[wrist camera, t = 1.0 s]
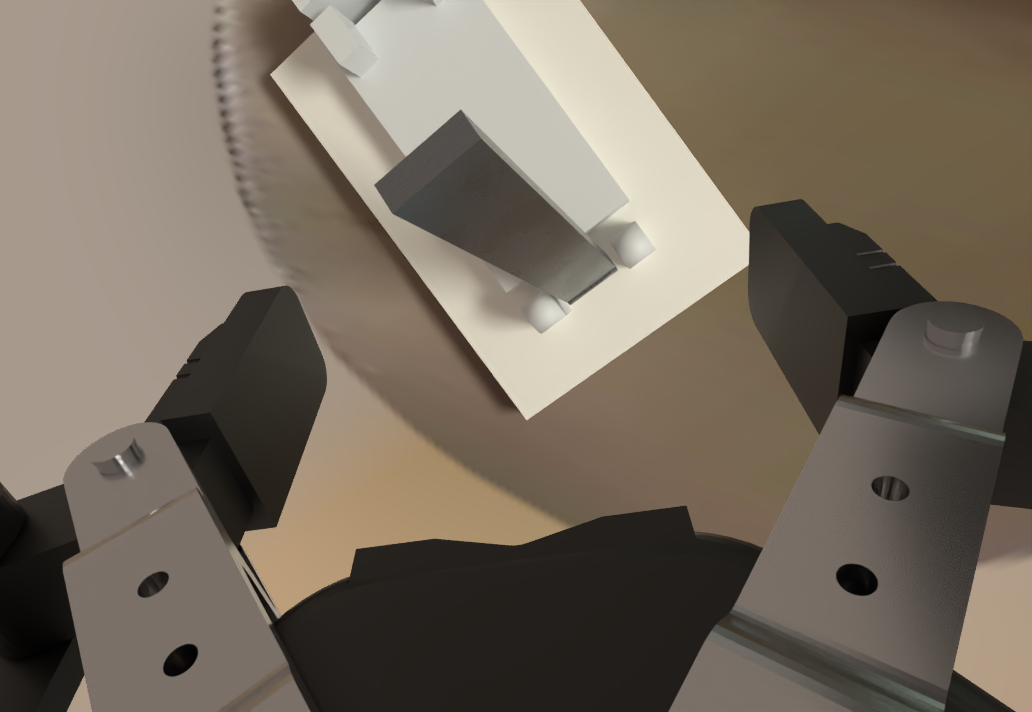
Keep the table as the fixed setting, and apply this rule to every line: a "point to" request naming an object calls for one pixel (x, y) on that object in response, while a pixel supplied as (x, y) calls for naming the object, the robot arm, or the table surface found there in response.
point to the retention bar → (493, 211)
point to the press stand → (537, 152)
